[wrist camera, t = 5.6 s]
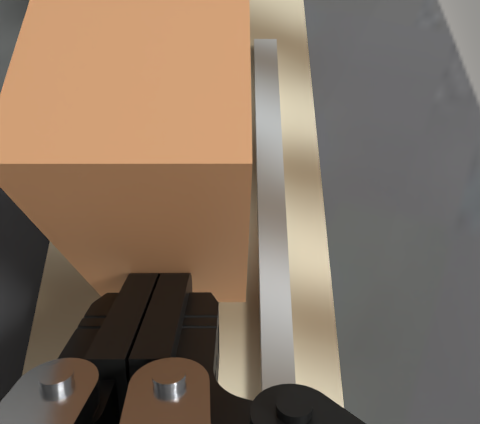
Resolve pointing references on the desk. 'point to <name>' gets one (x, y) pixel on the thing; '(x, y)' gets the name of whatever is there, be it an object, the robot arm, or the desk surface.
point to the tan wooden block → (134, 137)
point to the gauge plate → (252, 237)
